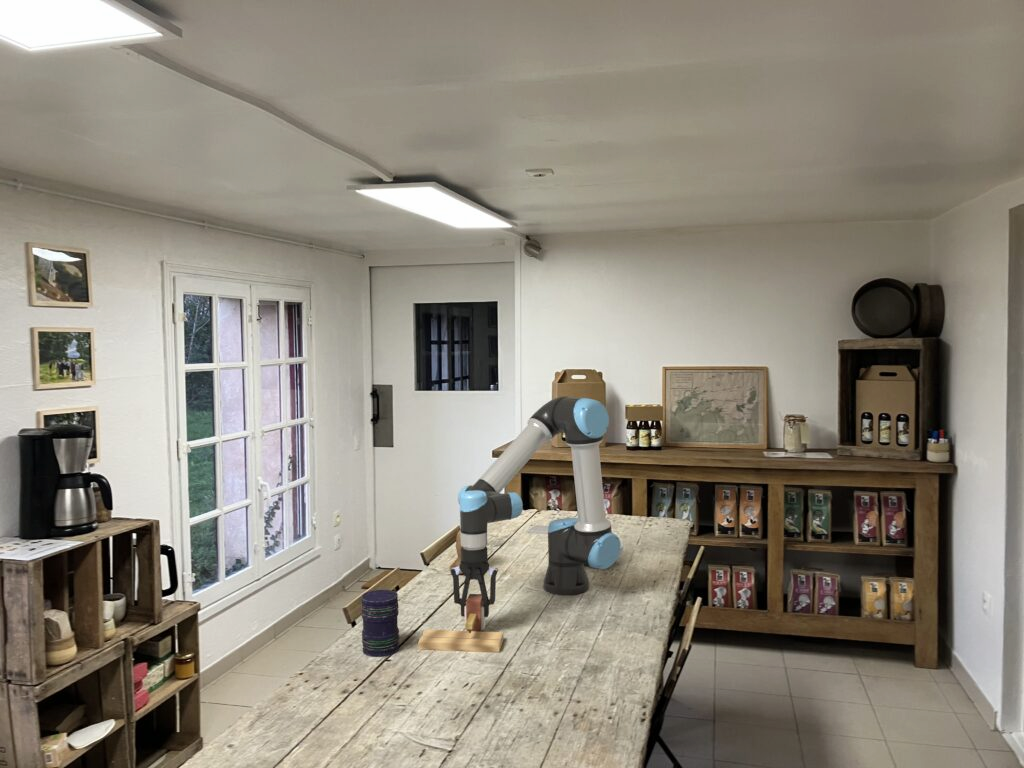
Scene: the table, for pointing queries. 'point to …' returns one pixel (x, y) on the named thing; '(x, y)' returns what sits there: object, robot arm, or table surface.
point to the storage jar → (380, 623)
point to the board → (461, 641)
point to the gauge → (473, 612)
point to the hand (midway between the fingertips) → (475, 627)
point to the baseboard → (539, 529)
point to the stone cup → (458, 548)
